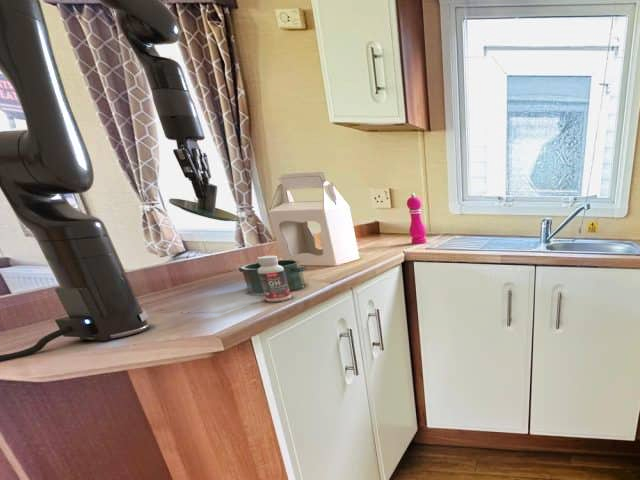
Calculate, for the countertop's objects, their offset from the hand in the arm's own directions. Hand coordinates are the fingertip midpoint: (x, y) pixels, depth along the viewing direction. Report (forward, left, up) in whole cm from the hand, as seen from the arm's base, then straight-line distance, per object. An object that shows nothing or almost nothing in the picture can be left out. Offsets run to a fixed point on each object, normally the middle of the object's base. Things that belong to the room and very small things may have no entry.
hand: (205, 197), depth 103 cm
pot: (+1, -13, -22) cm, 26 cm away
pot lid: (0, +1, -3) cm, 3 cm away
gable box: (+40, +2, -23) cm, 46 cm away
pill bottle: (-9, -22, -23) cm, 33 cm away
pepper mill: (+87, -13, -23) cm, 91 cm away
